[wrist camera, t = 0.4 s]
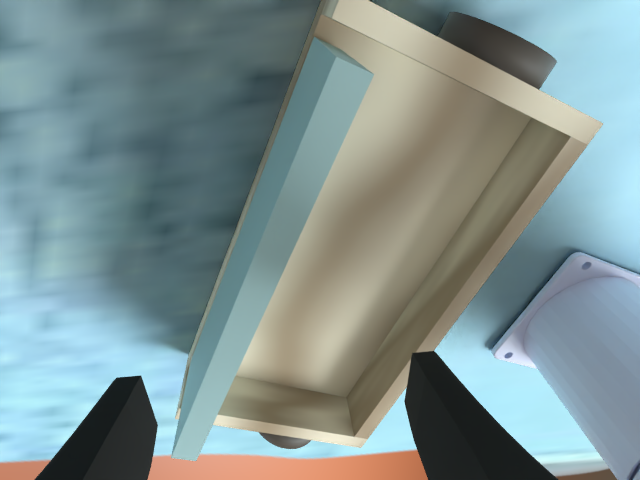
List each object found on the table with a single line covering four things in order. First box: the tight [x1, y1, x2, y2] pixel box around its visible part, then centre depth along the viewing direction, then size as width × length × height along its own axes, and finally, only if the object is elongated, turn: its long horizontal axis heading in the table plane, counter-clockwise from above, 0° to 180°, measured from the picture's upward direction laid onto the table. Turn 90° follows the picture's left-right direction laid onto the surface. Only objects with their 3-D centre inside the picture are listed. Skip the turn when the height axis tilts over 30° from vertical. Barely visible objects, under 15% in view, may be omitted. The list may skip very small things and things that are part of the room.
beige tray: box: [175, 0, 603, 449], centre depth 18 cm, size 10×21×4 cm, turn 156°
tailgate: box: [171, 37, 374, 461], centre depth 15 cm, size 1×16×5 cm, turn 156°
